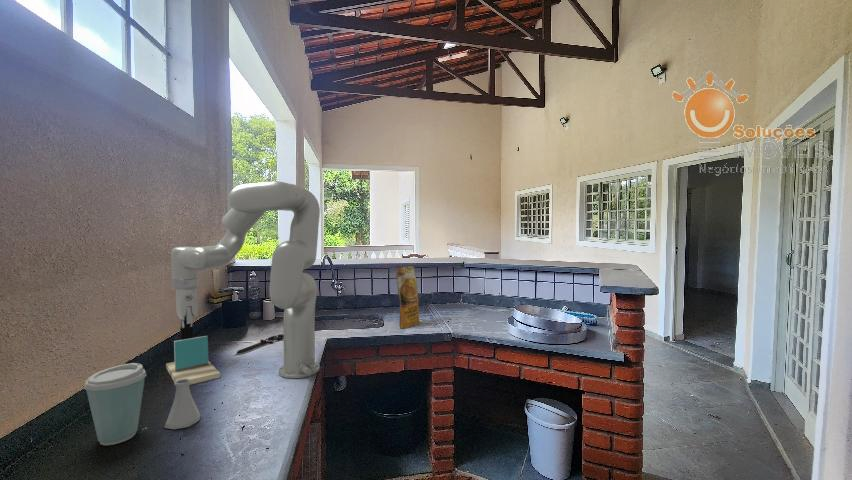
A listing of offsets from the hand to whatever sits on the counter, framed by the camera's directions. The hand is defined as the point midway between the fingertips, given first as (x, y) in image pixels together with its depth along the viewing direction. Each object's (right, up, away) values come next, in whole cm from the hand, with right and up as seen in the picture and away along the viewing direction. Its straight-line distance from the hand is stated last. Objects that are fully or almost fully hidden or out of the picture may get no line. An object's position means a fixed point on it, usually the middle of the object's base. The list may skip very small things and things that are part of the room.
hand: (186, 338), depth 125 cm
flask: (+22, -11, -36) cm, 43 cm away
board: (+6, -9, -6) cm, 12 cm away
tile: (+5, -3, -5) cm, 8 cm away
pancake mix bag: (+71, -8, +54) cm, 90 cm away
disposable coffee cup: (+12, -11, -42) cm, 45 cm away
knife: (+15, -9, +22) cm, 28 cm away
